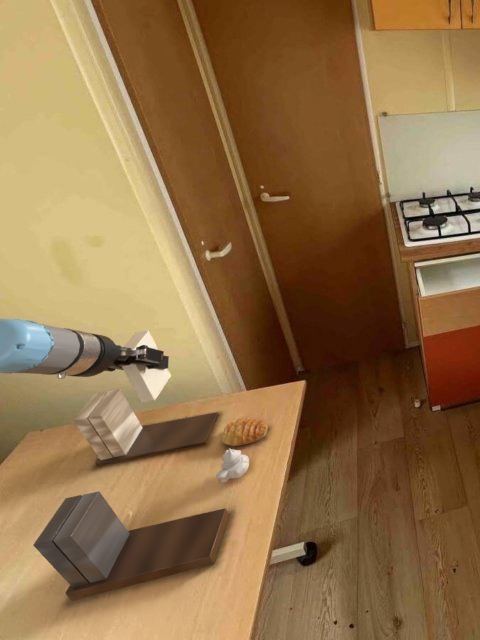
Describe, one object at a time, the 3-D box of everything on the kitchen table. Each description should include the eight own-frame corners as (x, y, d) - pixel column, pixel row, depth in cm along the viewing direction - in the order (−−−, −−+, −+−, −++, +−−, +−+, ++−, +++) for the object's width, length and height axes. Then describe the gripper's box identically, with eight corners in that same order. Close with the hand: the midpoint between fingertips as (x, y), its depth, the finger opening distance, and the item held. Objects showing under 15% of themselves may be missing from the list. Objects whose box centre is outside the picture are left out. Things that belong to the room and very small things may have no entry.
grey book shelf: (71, 601, 73) (24, 551, 66) (102, 545, 81) (63, 495, 74) (214, 564, 78) (184, 514, 71) (230, 515, 86) (204, 465, 79)
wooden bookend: (96, 466, 96) (67, 423, 90) (119, 433, 104) (93, 391, 98) (205, 444, 101) (184, 402, 95) (218, 414, 109) (200, 374, 103)
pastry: (273, 423, 107) (269, 412, 105) (261, 446, 101) (257, 435, 99) (235, 425, 106) (230, 415, 104) (221, 448, 100) (215, 438, 99)
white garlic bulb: (258, 466, 96) (247, 443, 92) (230, 492, 91) (219, 468, 87) (241, 458, 98) (230, 434, 94) (214, 482, 93) (201, 458, 89)
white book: (141, 403, 90) (115, 356, 84) (159, 377, 97) (136, 332, 91) (154, 400, 91) (129, 354, 85) (171, 375, 97) (148, 330, 91)
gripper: (19, 384, 71) (116, 387, 93) (127, 367, 74) (196, 374, 96) (26, 339, 73) (119, 353, 95) (131, 325, 76) (197, 341, 98)
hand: (158, 363), depth 95 cm, fingers closed on white book, 2 cm apart
